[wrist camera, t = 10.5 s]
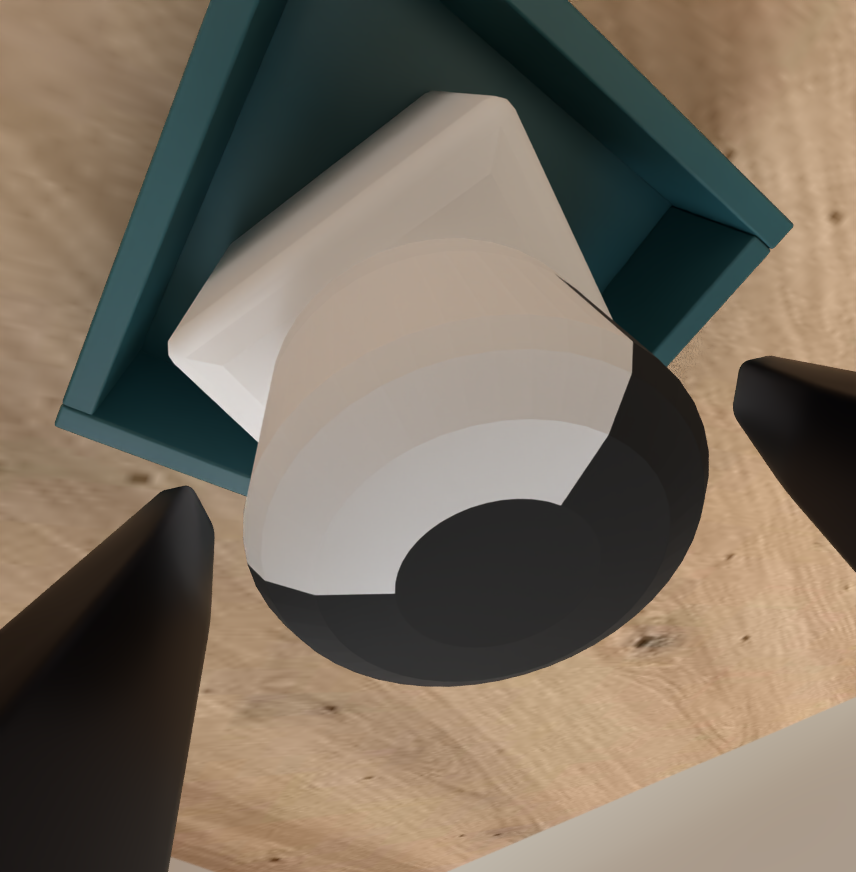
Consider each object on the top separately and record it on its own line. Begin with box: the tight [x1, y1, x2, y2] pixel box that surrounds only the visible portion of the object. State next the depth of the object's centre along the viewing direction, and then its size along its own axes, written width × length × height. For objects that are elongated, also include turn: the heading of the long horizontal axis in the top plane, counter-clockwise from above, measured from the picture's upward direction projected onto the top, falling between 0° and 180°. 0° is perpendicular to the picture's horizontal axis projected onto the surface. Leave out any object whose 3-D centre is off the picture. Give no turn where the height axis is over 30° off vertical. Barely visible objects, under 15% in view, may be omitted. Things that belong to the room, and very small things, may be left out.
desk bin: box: [55, 0, 793, 496], centre depth 15 cm, size 13×13×4 cm
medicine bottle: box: [168, 91, 709, 687], centre depth 11 cm, size 7×7×12 cm
